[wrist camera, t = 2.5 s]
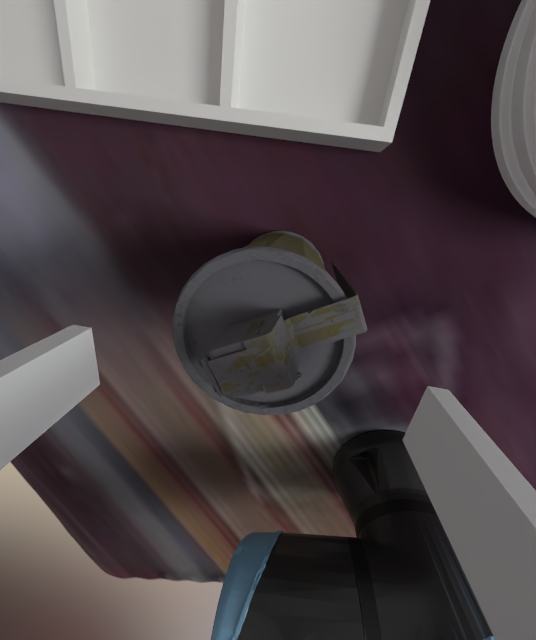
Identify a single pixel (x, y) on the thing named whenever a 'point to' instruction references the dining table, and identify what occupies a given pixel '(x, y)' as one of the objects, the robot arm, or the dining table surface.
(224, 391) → the canister
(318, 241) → the dining table surface
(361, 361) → the dining table surface
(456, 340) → the dining table surface
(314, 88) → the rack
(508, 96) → the plate stack
